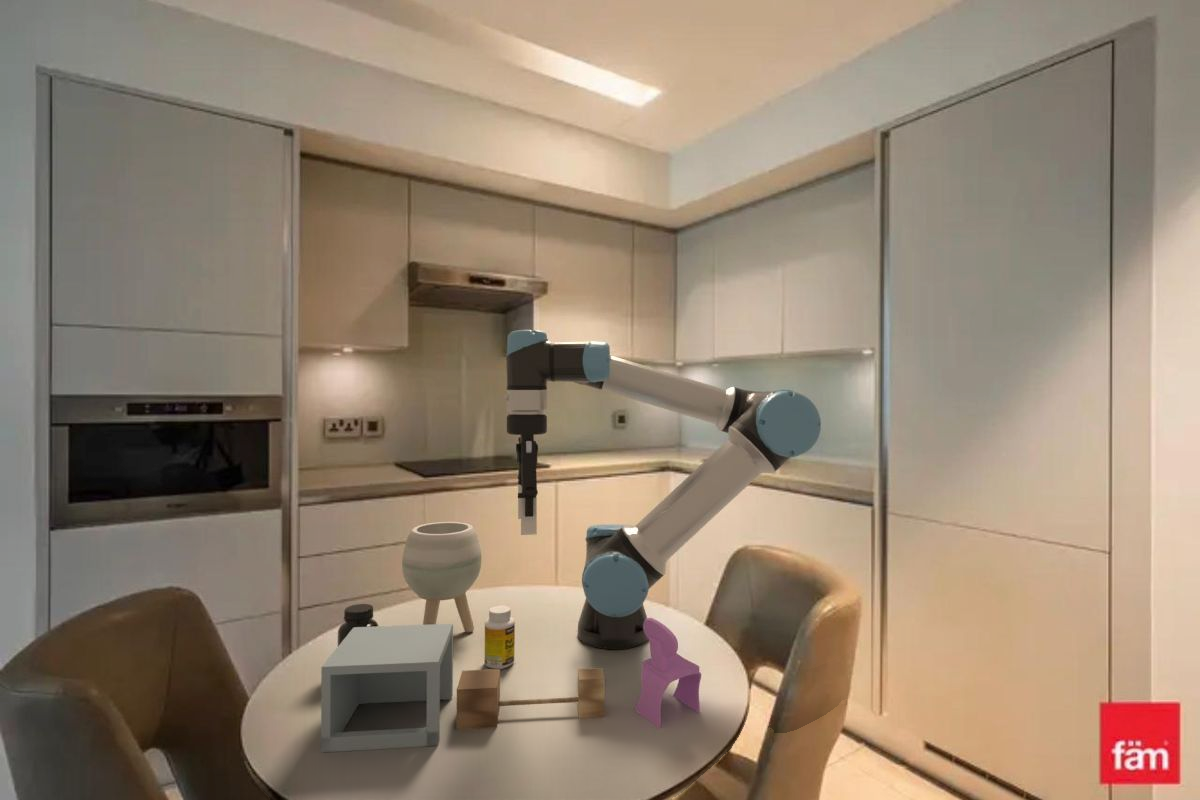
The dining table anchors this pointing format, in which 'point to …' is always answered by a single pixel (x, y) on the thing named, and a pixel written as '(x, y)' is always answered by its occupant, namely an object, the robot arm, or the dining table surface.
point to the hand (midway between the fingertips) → (526, 526)
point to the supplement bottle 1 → (356, 619)
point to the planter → (442, 566)
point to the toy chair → (665, 673)
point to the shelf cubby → (386, 683)
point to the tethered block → (483, 700)
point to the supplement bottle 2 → (499, 638)
